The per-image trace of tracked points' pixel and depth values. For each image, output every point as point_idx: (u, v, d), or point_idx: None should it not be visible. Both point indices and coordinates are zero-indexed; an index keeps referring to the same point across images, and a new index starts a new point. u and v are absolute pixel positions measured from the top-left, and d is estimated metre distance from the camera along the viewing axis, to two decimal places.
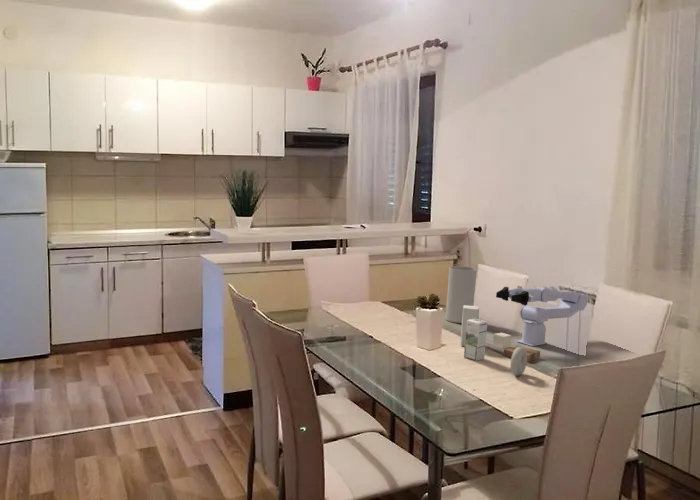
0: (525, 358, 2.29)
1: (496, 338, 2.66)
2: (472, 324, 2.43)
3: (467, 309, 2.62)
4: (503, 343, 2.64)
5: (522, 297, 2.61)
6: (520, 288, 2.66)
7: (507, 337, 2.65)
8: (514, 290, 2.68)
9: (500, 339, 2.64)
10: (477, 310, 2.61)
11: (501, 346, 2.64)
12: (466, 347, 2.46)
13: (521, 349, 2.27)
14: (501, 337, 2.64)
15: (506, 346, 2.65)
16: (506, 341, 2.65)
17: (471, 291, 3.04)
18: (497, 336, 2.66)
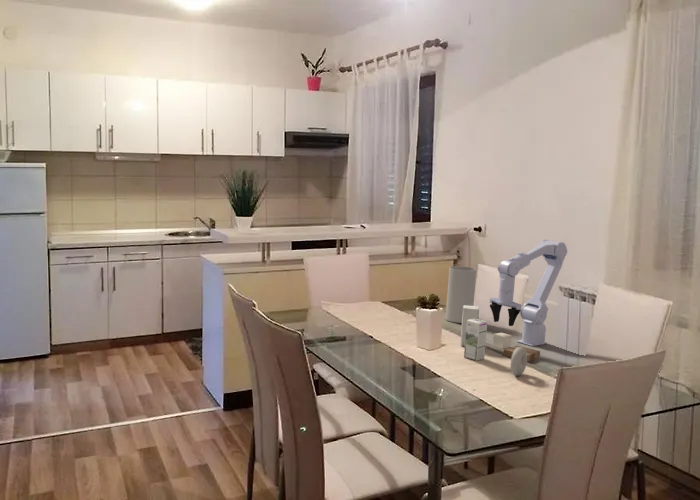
0: (525, 358, 2.29)
1: (496, 338, 2.66)
2: (472, 324, 2.44)
3: (467, 309, 2.62)
4: (503, 343, 2.64)
5: None
6: (501, 303, 2.63)
7: (507, 337, 2.65)
8: None
9: (500, 339, 2.64)
10: (477, 310, 2.61)
11: (501, 346, 2.64)
12: (466, 347, 2.46)
13: (521, 349, 2.27)
14: (501, 337, 2.64)
15: (506, 346, 2.65)
16: (506, 341, 2.65)
17: (471, 291, 3.04)
18: (497, 336, 2.66)
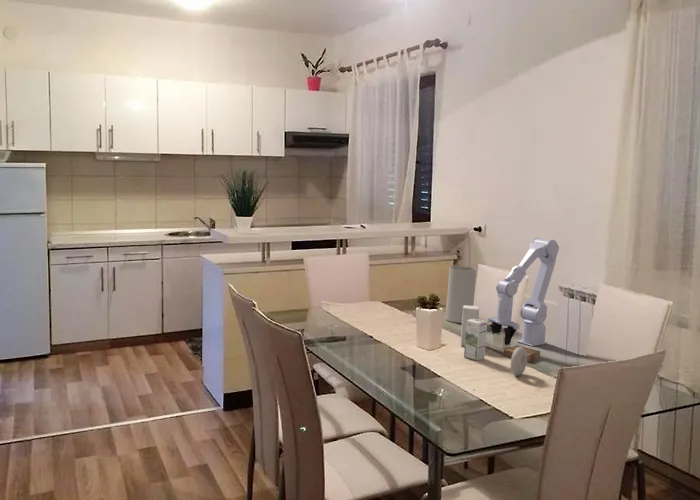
0: (525, 358, 2.29)
1: (496, 338, 2.66)
2: (473, 324, 2.44)
3: (467, 309, 2.62)
4: (503, 343, 2.64)
5: None
6: None
7: None
8: None
9: (500, 339, 2.64)
10: (477, 310, 2.61)
11: (501, 346, 2.64)
12: (466, 347, 2.46)
13: (521, 349, 2.27)
14: (501, 337, 2.64)
15: (506, 346, 2.65)
16: None
17: (471, 291, 3.04)
18: (497, 336, 2.66)
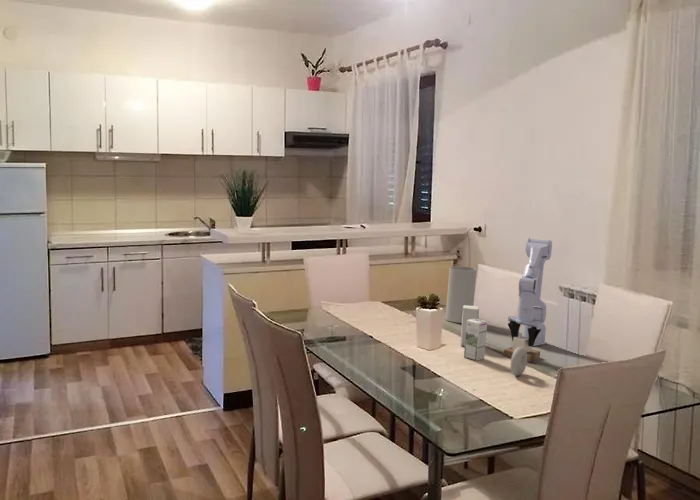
0: (525, 358, 2.29)
1: (516, 342, 2.52)
2: (472, 324, 2.44)
3: (467, 309, 2.62)
4: (523, 347, 2.49)
5: None
6: (520, 322, 2.49)
7: None
8: (517, 321, 2.52)
9: (520, 343, 2.50)
10: (477, 310, 2.61)
11: None
12: (466, 347, 2.46)
13: (521, 349, 2.27)
14: (522, 341, 2.49)
15: (527, 350, 2.51)
16: (527, 345, 2.50)
17: (471, 291, 3.04)
18: (517, 340, 2.51)
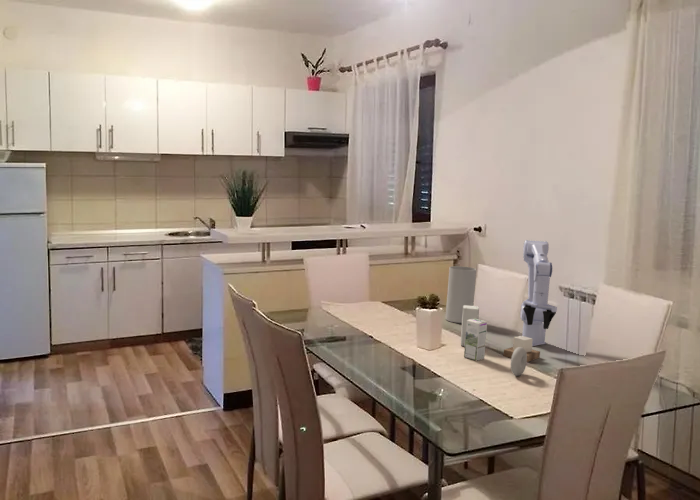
0: (525, 358, 2.29)
1: (516, 342, 2.52)
2: (472, 324, 2.44)
3: (467, 309, 2.62)
4: (524, 347, 2.49)
5: None
6: (536, 306, 2.56)
7: (528, 340, 2.50)
8: None
9: (521, 343, 2.50)
10: (477, 310, 2.61)
11: None
12: (466, 347, 2.46)
13: (521, 349, 2.27)
14: (522, 340, 2.50)
15: (527, 350, 2.51)
16: (527, 345, 2.50)
17: (471, 291, 3.04)
18: (517, 339, 2.51)
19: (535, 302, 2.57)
